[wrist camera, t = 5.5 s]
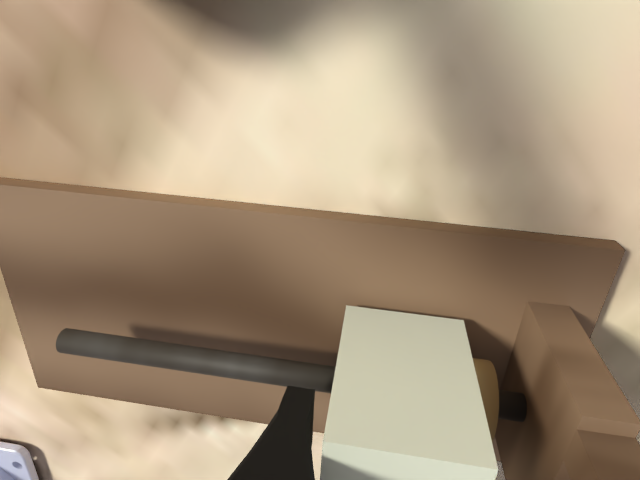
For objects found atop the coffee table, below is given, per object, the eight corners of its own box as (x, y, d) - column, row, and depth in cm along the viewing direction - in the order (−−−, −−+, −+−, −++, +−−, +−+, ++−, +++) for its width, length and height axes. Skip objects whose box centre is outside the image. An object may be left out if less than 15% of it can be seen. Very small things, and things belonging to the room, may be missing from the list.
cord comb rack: (533, 453, 17) (608, 684, 11) (48, 377, 19) (-107, 534, 13) (615, 240, 13) (803, 425, 7) (-12, 175, 15) (-273, 273, 9)
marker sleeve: (443, 405, 15) (464, 569, 11) (338, 390, 16) (315, 541, 11) (463, 320, 14) (498, 469, 9) (346, 305, 14) (322, 441, 9)
